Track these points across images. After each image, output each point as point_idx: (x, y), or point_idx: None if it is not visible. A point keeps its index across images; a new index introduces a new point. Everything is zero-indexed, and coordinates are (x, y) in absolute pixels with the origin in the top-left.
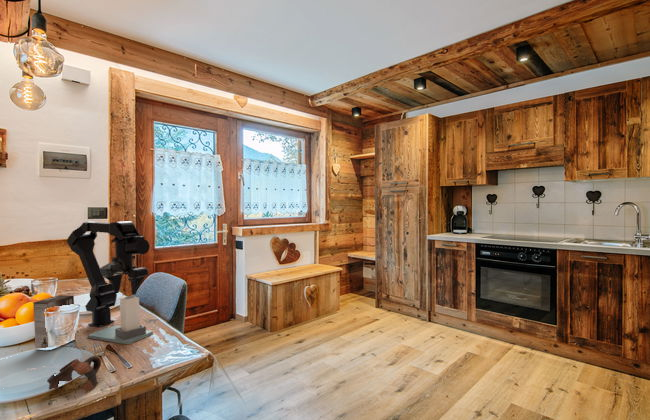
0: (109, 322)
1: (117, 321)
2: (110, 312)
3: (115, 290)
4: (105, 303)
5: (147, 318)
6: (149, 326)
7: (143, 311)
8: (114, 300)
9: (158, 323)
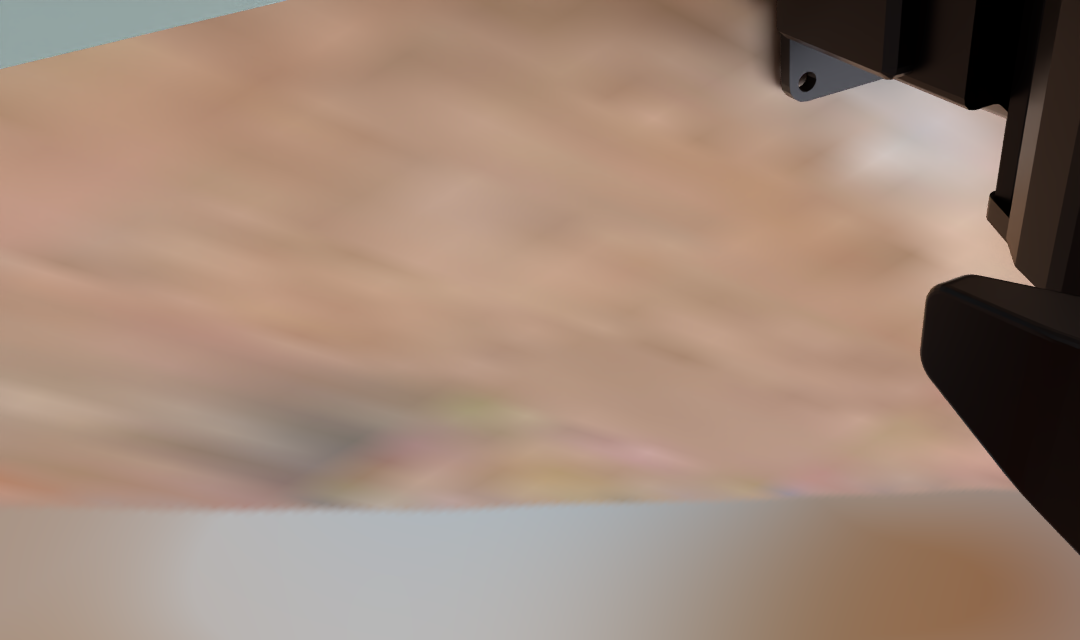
0: (779, 9)
1: (761, 134)
2: (881, 74)
3: (1031, 330)
4: (1049, 4)
5: (479, 435)
6: (19, 334)
7: (795, 482)
8: (1014, 236)
9: (66, 466)
